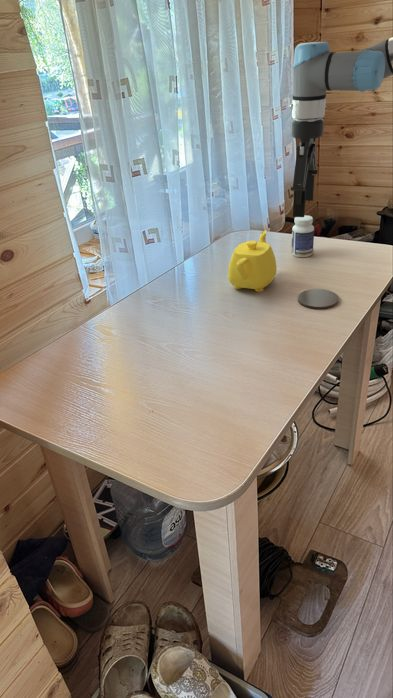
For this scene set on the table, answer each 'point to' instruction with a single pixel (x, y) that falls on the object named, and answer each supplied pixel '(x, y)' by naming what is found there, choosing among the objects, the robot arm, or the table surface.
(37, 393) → the table surface
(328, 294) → the coaster
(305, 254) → the pill bottle
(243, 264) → the teapot
